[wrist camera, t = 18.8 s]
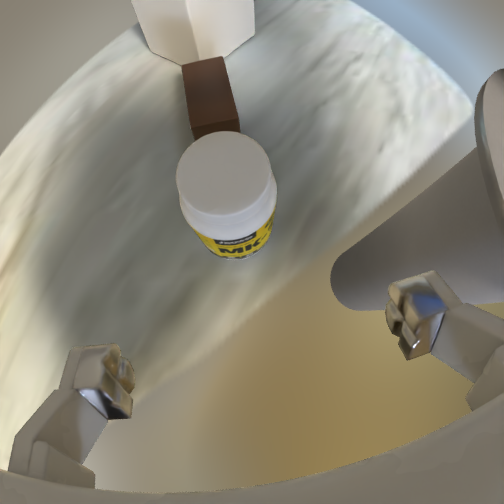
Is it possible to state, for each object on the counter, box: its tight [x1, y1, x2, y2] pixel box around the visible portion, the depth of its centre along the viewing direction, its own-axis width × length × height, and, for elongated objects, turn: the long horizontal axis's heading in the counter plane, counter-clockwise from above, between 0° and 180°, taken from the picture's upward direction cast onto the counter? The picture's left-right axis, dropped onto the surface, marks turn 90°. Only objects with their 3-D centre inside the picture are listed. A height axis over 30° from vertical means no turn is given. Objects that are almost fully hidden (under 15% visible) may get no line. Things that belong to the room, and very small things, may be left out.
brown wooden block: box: [182, 56, 240, 141], centre depth 20 cm, size 6×3×4 cm, turn 12°
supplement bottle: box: [176, 131, 277, 260], centre depth 17 cm, size 5×5×8 cm
